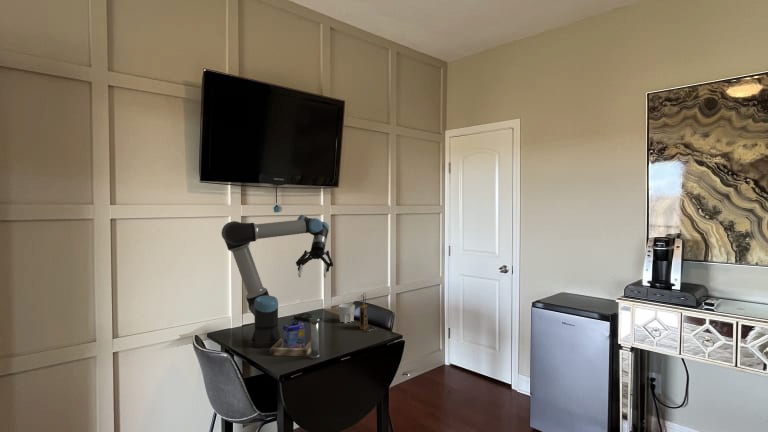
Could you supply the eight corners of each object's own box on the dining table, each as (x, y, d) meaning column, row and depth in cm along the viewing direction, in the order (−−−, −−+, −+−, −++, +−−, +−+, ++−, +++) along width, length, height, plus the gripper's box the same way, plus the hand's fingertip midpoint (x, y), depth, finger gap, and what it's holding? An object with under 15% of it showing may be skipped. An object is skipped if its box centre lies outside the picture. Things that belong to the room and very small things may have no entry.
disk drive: (293, 320, 257) (312, 323, 250) (293, 316, 257) (312, 318, 250) (304, 316, 266) (322, 319, 259) (304, 312, 266) (322, 315, 259)
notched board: (269, 355, 194) (269, 348, 194) (281, 344, 210) (280, 338, 210) (307, 356, 193) (307, 349, 193) (315, 345, 209) (315, 339, 209)
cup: (337, 319, 256) (337, 304, 256) (353, 318, 259) (353, 303, 259) (339, 324, 247) (339, 307, 247) (356, 323, 249) (356, 306, 249)
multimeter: (375, 332, 229) (375, 297, 229) (358, 331, 231) (358, 296, 231) (380, 325, 244) (380, 291, 243) (364, 324, 246) (364, 291, 245)
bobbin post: (308, 359, 189) (308, 320, 189) (311, 355, 194) (310, 317, 194) (318, 359, 189) (318, 320, 188) (321, 355, 194) (321, 317, 193)
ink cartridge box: (288, 353, 197) (288, 323, 197) (282, 350, 201) (282, 320, 201) (306, 348, 204) (305, 319, 204) (299, 345, 208) (299, 317, 208)
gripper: (341, 249, 233) (336, 280, 219) (298, 249, 236) (290, 279, 221) (339, 240, 228) (334, 271, 213) (295, 240, 230) (287, 271, 215)
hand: (311, 276), depth 217 cm, fingers open, 13 cm apart
